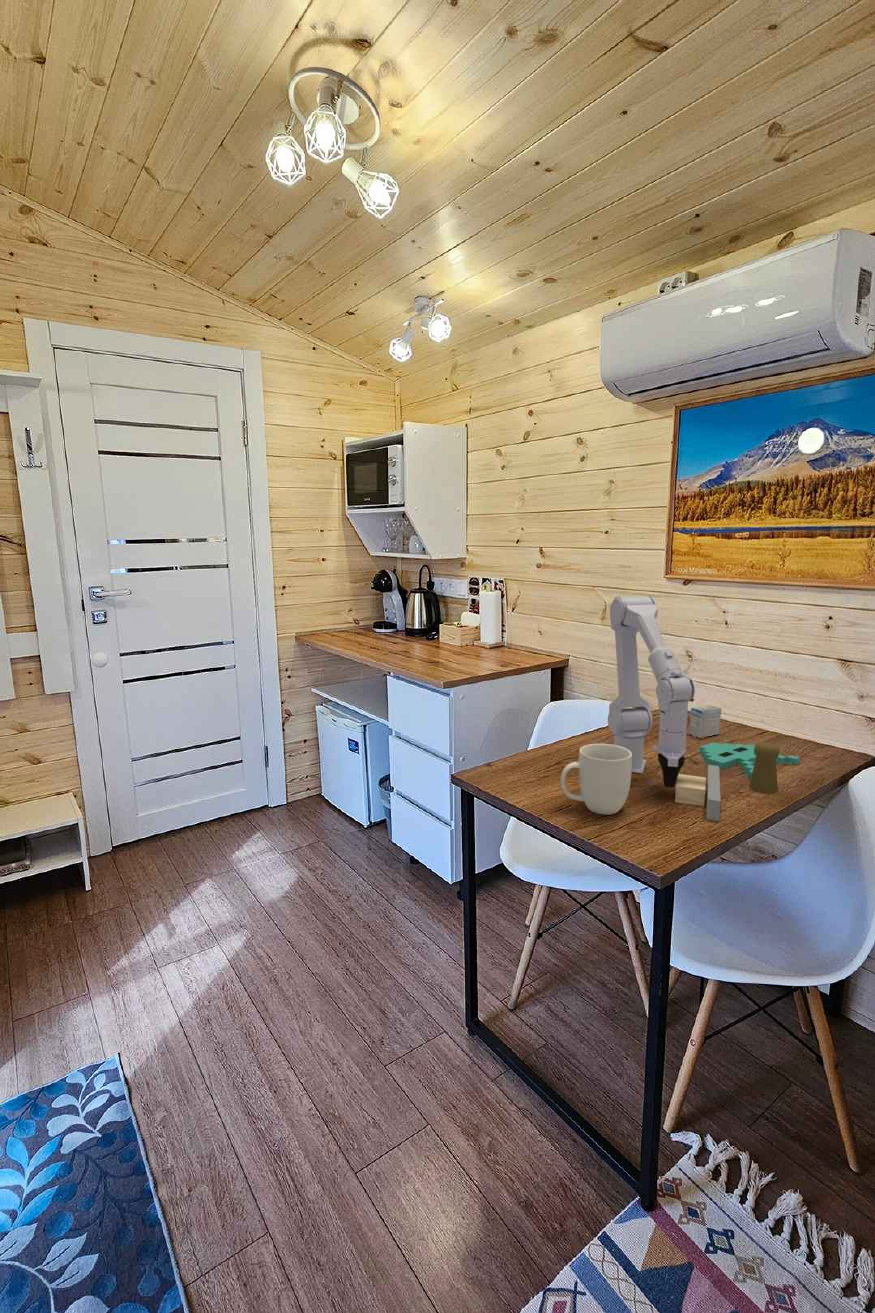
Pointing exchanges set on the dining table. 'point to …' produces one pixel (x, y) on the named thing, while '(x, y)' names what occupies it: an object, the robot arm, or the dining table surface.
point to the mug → (602, 777)
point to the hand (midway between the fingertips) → (669, 786)
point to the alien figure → (736, 756)
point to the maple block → (690, 790)
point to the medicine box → (705, 720)
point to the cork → (765, 768)
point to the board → (713, 793)
